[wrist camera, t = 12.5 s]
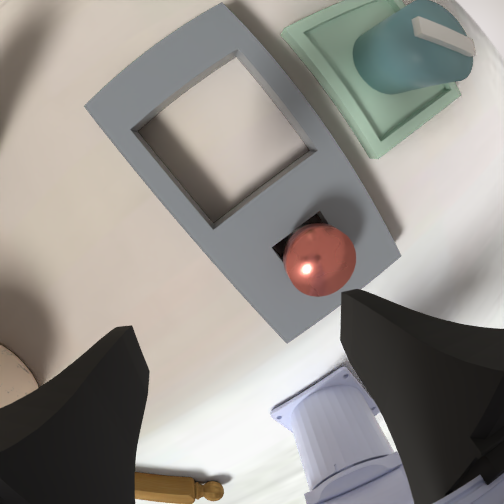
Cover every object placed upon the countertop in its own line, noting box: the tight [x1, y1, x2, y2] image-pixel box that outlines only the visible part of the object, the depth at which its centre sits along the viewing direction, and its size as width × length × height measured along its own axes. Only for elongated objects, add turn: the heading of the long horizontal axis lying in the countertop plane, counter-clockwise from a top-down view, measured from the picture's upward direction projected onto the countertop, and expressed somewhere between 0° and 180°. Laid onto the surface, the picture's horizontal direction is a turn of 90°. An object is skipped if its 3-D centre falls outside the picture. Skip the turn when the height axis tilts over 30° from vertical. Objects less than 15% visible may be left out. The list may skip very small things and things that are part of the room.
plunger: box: [283, 223, 356, 297], centre depth 18 cm, size 4×4×3 cm
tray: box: [281, 0, 461, 159], centre depth 16 cm, size 10×10×1 cm
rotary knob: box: [353, 0, 476, 95], centre depth 12 cm, size 5×5×7 cm
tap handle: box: [135, 472, 224, 504], centre depth 25 cm, size 3×3×30 cm
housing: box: [84, 2, 401, 343], centre depth 17 cm, size 20×10×2 cm, turn 37°
